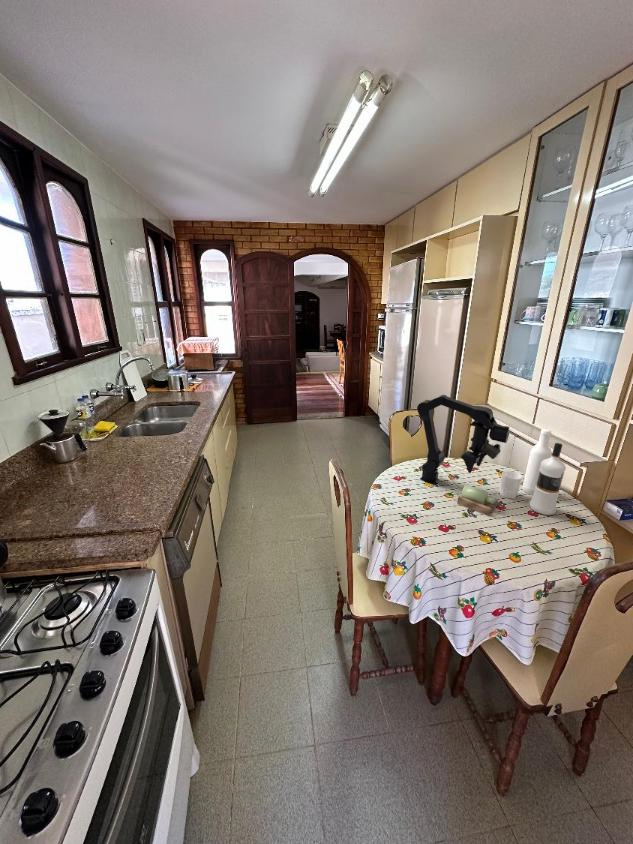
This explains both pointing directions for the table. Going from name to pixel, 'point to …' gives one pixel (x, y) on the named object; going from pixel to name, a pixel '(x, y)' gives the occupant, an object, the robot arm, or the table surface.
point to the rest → (477, 505)
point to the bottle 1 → (477, 495)
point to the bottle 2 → (536, 461)
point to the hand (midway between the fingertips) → (474, 469)
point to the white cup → (510, 484)
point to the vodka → (548, 483)
